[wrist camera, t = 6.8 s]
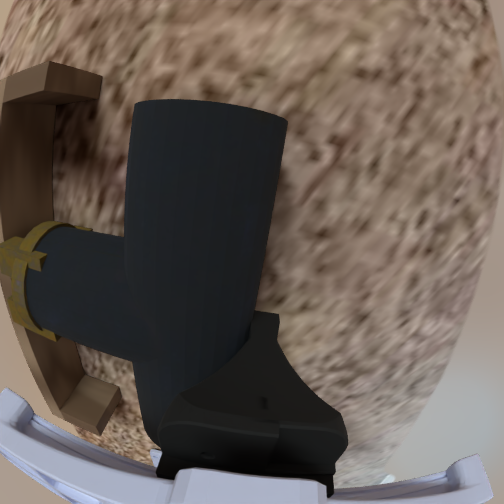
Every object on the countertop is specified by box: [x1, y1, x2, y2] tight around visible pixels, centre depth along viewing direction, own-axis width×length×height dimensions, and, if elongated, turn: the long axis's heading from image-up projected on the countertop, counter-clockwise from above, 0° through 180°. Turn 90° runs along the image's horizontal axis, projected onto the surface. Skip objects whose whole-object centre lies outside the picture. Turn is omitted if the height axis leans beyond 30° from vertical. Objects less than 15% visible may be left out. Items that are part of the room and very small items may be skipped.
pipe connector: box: [0, 99, 288, 447], centre depth 11 cm, size 12×5×15 cm
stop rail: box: [0, 61, 122, 436], centre depth 12 cm, size 20×4×4 cm, turn 173°
